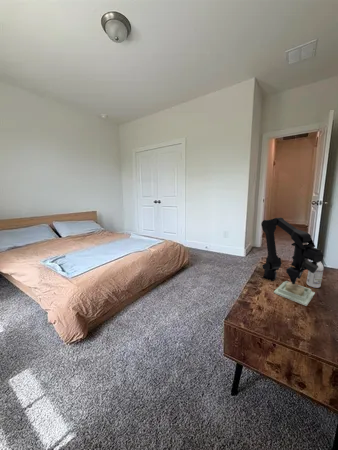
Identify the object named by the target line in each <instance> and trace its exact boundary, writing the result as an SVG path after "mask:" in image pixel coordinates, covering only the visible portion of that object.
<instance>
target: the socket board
mask: <svg viewBox="0 0 338 450" xmlns="http://www.w3.org/2000/svg"><path fill="white" fill-rule="evenodd" d="M288 282H289V281H288V280H285V281H283V282H282V283H281V284H280V285H279V286H278V287H276V289H275V290H274V291H273V294H276V295H278V296H280V297H282V298H285V299H288V300H290V301H292V302H296V303H297V304H300V305H301V306H302V305H303V306H306V307H307V306H308V304H309V303H310V302H311V300H312V299H313V297H314V296H315V293H316V292H315V291H312V288H309V287H305V286H303V285H299V284H296V283H295V284H296V285H299V286H301V287H303V288H305V289H304V295H302V296H299V295H297V294H294V293H291V292H289V291H287V290H285V287H286V283H288Z"/></svg>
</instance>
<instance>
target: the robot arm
mask: <svg viewBox="0 0 338 450" xmlns="http://www.w3.org/2000/svg"><path fill="white" fill-rule="evenodd" d="M260 226H261V229H262V231H263V232H264V233H265V241H266V249H267V257H266V258H265V263H263V264H262V265H261V267H262V269H263V270H264V271H263V276H262V278H264V279H266V280H269V281H272V282H273V281H275V280H276V279H277V275H278V273H277V271H279V269H280V268H281V267H282V264H283V263H282V259H281V257H279V255H277V247H276V240H275V239H276V238H275V232H276V229H277V226H278V227H279V228H280V229H282V231H284V232H285V233H287V234H288V235H289V236H290V239H291V240H292V241H293V243H291V244H290V245H291V246H293V248H294V250H293V255H292V257H291V258H292V263H290V266H289V267H287V268H286V270H285V272H286V274H287V275H288V277H289V279H290V282H292V284H296V282H297V279H298V280H299V279H301V276H302V275H303V273H304V271H306V270H307V271H308V270H309V271H310V272H311V273H314V272H315V271H316V270H317V268H318V265H317V263H319V262H320V261H321V262H322V260H324V253H323V252H322V249H321V248H317V247H316V245H315V243H314V240H313V239H312V235H311V234H310V233H309V232H307V231H304V230H300V229H298V228H297V227H295V226H294V225H292V224H291V223H289V222H288V221H286V220H285V219H284V218H283V217H275V218H274V217H273V218H271V219H264V220H262V221H261V225H260Z"/></svg>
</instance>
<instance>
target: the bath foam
mask: <svg viewBox="0 0 338 450" xmlns="http://www.w3.org/2000/svg"><path fill="white" fill-rule="evenodd" d="M317 265H318V268H317V270H316V271H315V272H314V273H311V272H310V271H309V270H307V277H306V285H308V287H311V288H315V289H318V288H321V284H322V280H323V275H324V265H323V263H322V261H320V262H319V263H317Z"/></svg>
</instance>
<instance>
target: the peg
mask: <svg viewBox="0 0 338 450" xmlns="http://www.w3.org/2000/svg"><path fill="white" fill-rule="evenodd" d="M301 286H302V285H300V286H299V284H297V285H296V283H295V284H292V282H291V281H288V283H286V287H285V290H287V291H289V292H291V293H294V294H297V295H299V296H302V295H304V289H305V288H303V287H304V286H303V287H301Z"/></svg>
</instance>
